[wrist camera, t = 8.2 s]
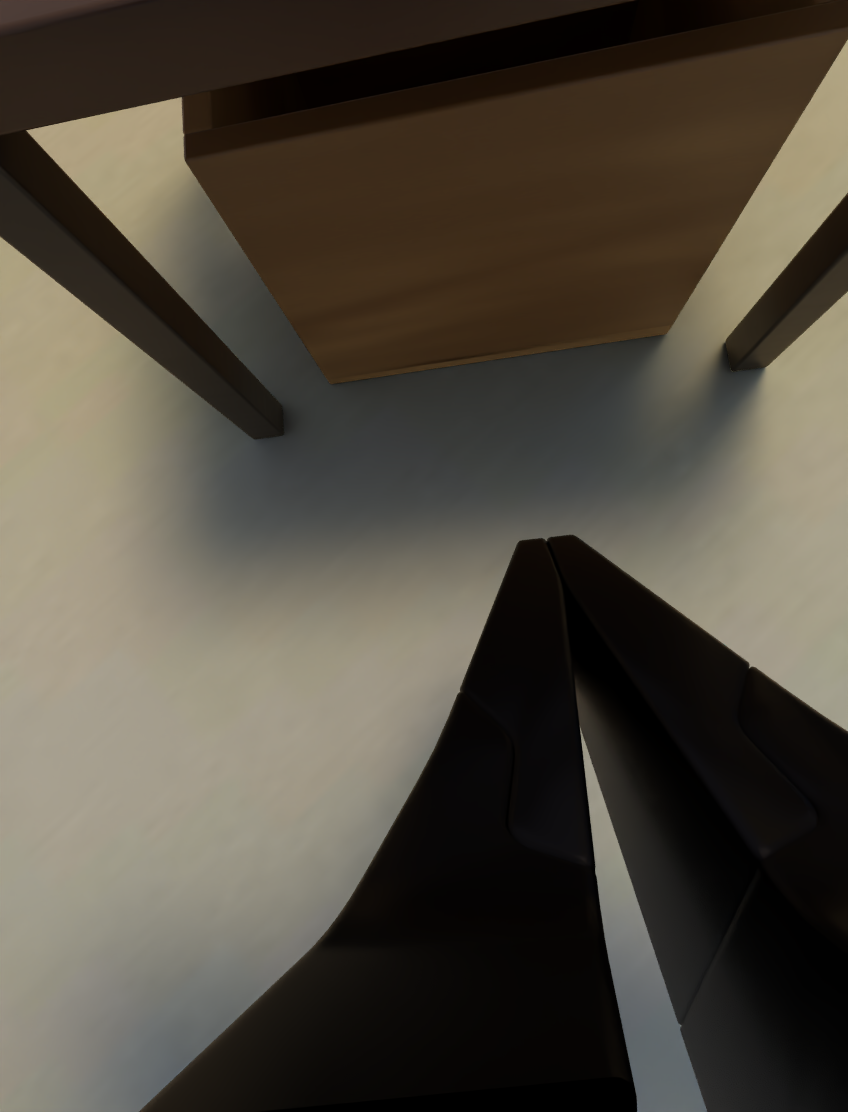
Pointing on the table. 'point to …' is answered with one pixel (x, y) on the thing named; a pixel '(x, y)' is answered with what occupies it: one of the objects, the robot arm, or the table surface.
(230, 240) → the table surface
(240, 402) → the desk shelf
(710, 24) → the wooden box
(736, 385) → the table surface
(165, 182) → the table surface
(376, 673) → the table surface
